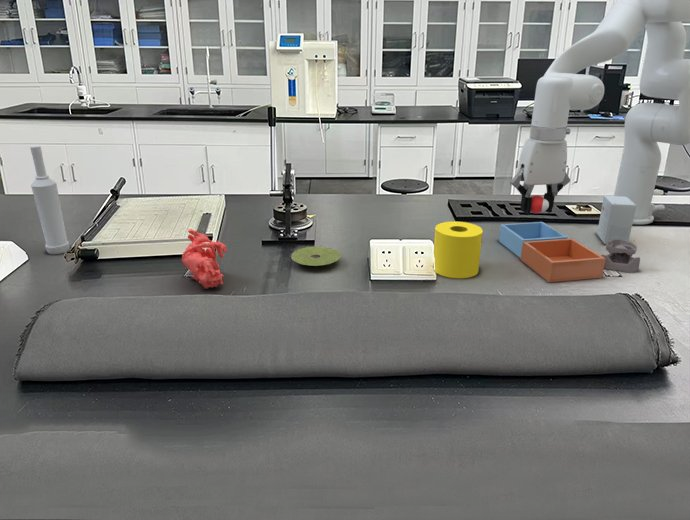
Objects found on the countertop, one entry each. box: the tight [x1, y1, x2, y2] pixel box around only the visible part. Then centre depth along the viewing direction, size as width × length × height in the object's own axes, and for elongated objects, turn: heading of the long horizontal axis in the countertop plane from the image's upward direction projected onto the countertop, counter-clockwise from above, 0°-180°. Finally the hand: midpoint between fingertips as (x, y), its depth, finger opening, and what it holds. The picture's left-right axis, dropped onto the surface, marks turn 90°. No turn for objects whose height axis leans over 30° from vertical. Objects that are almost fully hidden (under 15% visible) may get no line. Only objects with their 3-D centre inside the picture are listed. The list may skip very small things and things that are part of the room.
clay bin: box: [520, 237, 606, 283], centre depth 118 cm, size 12×12×4 cm
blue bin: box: [498, 221, 569, 259], centre depth 129 cm, size 11×11×4 cm
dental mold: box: [600, 239, 641, 273], centre depth 119 cm, size 8×7×5 cm
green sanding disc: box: [290, 246, 341, 267], centre depth 121 cm, size 11×11×2 cm
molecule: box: [530, 194, 549, 214], centre depth 126 cm, size 5×5×4 cm
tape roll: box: [433, 221, 484, 279], centre depth 116 cm, size 10×10×9 cm
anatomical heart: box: [181, 228, 228, 289], centre depth 110 cm, size 9×12×12 cm
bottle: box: [29, 145, 71, 255], centre depth 123 cm, size 5×5×25 cm
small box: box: [596, 195, 636, 245], centre depth 133 cm, size 8×6×10 cm
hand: (536, 210), depth 126 cm, fingers closed on molecule, 4 cm apart
